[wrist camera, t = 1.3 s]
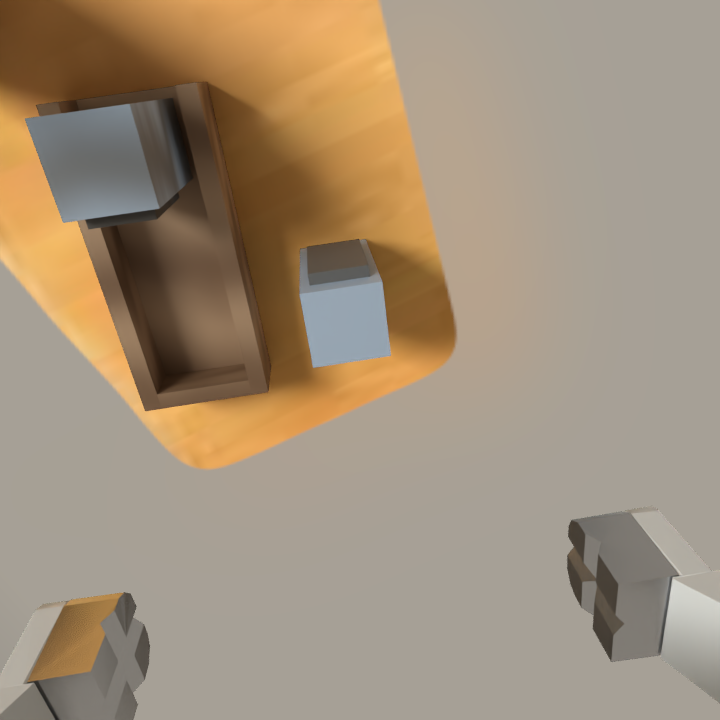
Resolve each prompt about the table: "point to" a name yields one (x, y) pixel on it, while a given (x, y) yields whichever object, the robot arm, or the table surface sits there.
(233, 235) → the brown wooden open box
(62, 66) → the table surface
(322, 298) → the blue grey rectangular block
